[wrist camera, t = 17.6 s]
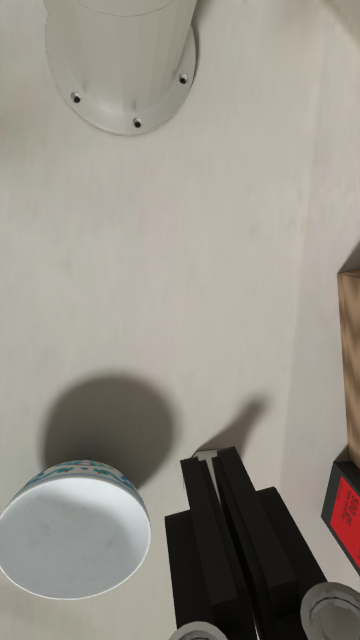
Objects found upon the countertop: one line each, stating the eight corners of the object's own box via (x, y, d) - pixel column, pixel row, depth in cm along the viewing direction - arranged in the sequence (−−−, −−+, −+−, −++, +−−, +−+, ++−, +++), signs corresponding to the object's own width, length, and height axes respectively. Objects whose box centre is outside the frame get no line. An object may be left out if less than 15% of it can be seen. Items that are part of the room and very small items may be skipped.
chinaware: (54, 409, 38) (35, 454, 30) (170, 458, 41) (178, 509, 34) (-4, 511, 40) (-34, 576, 33) (111, 549, 44) (107, 615, 36)
